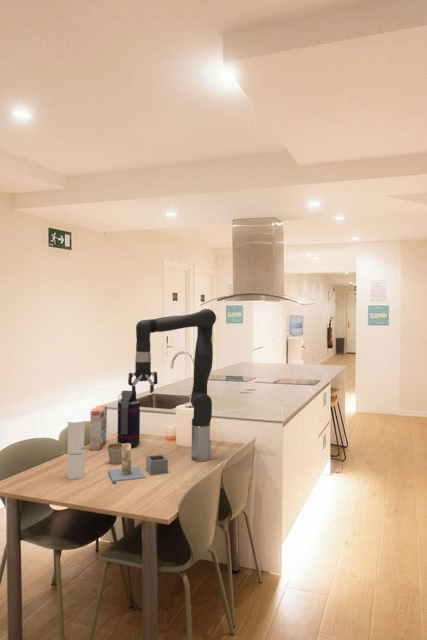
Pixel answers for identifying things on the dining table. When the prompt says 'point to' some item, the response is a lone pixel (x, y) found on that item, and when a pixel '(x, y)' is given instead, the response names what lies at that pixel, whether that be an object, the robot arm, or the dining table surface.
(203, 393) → the robot arm
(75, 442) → the cylindrical container
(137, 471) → the board
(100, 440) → the cracker box
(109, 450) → the flower pot
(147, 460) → the grey open box
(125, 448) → the dowel
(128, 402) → the grenade
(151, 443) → the dining table surface
